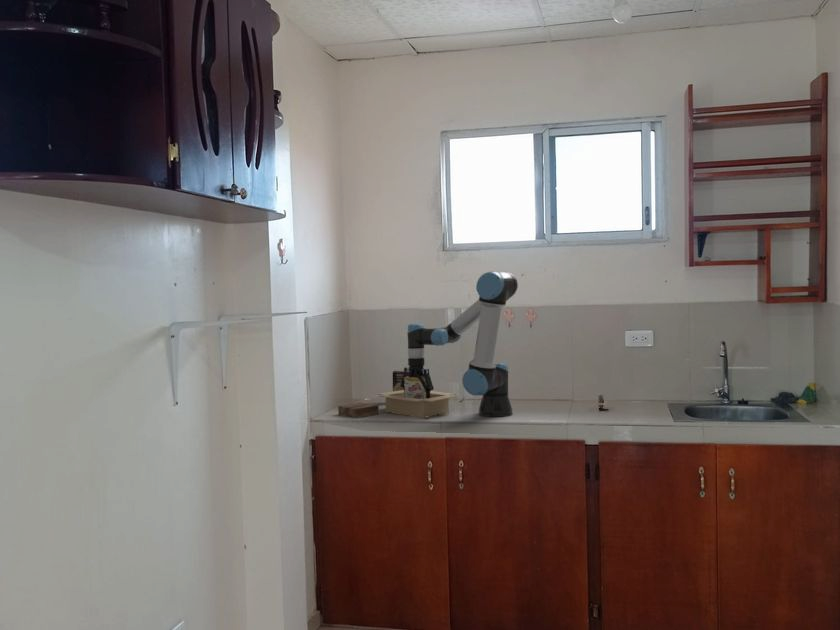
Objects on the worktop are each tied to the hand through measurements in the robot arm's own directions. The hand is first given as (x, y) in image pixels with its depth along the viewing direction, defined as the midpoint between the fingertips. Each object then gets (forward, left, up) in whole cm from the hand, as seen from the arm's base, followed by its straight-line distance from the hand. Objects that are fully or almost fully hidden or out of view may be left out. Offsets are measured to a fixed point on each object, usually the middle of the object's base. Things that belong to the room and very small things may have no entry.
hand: (417, 404), depth 349 cm
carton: (0, 0, -4) cm, 4 cm away
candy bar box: (0, 0, -4) cm, 4 cm away
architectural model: (-62, -58, -4) cm, 85 cm away
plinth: (+17, +21, -4) cm, 27 cm away
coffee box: (+24, -14, -4) cm, 28 cm away
